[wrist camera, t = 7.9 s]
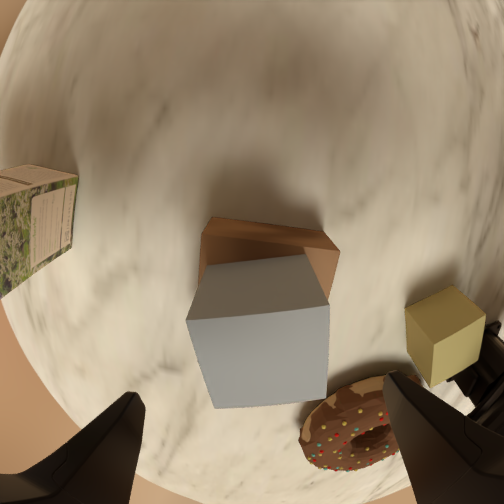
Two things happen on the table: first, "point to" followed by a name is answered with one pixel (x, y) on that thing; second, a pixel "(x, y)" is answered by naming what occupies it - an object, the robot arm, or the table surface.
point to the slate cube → (261, 332)
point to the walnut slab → (267, 246)
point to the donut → (350, 428)
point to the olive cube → (444, 334)
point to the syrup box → (33, 220)
